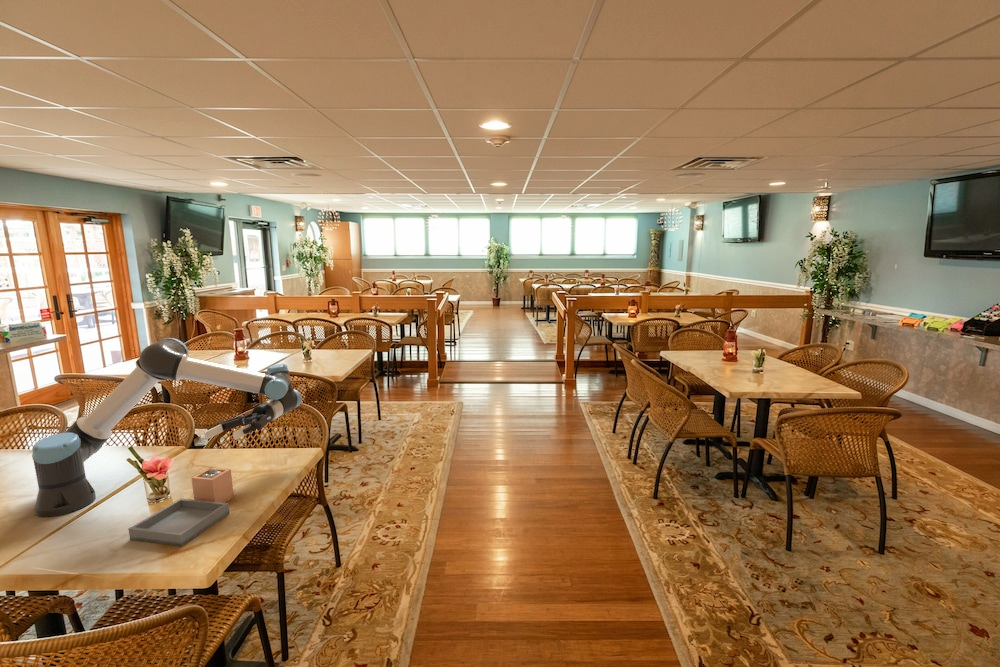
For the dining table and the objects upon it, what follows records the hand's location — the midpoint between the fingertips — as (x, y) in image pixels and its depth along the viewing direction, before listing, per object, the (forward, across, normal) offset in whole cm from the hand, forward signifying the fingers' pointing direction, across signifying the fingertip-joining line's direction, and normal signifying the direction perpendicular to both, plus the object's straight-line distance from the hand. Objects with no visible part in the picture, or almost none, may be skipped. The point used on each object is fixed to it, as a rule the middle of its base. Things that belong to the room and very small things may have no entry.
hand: (219, 436), depth 164 cm
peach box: (+8, 0, -20) cm, 22 cm away
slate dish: (+22, -4, -19) cm, 30 cm away
